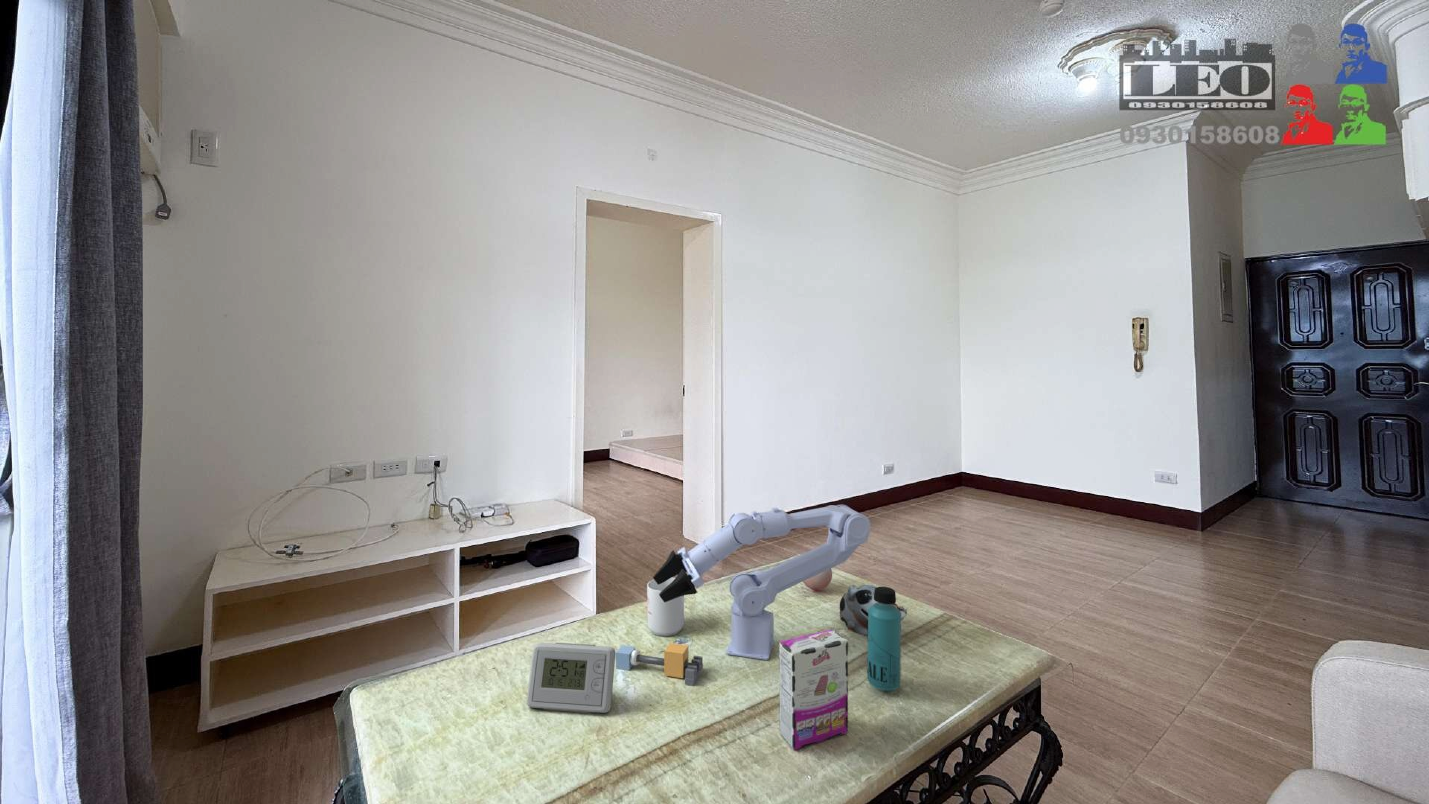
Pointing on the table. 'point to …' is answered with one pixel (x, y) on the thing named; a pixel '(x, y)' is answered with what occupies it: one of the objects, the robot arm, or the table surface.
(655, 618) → the mug
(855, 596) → the grey black rounded piece
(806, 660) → the candy bar box
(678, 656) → the sleeve
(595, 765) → the table surface
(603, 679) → the digital clock
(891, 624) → the beverage bottle
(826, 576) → the decorative fruit
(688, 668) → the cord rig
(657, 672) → the table surface
